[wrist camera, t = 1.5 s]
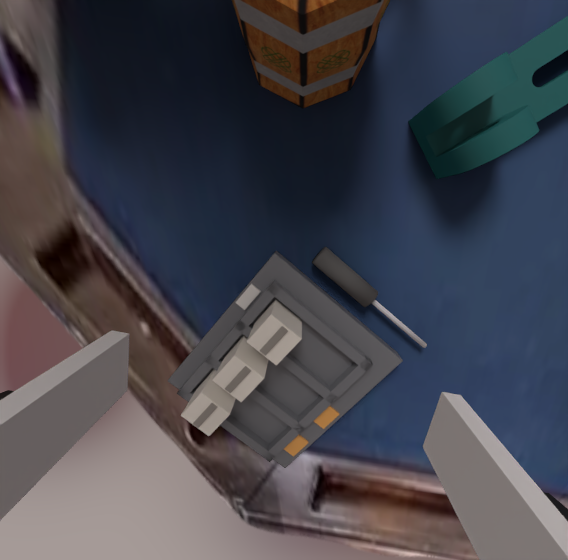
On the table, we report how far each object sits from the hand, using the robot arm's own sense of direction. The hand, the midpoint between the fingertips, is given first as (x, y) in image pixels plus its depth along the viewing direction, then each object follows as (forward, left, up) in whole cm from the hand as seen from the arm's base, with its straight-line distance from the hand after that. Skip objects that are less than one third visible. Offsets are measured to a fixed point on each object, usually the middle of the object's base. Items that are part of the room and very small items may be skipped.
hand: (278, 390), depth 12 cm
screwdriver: (+9, +3, -23) cm, 25 cm away
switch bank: (+7, -10, -23) cm, 26 cm away
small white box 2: (+2, -5, -21) cm, 22 cm away
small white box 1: (+2, -17, -21) cm, 27 cm away
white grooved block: (+2, -11, -21) cm, 24 cm away
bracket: (+4, +28, -24) cm, 37 cm away
